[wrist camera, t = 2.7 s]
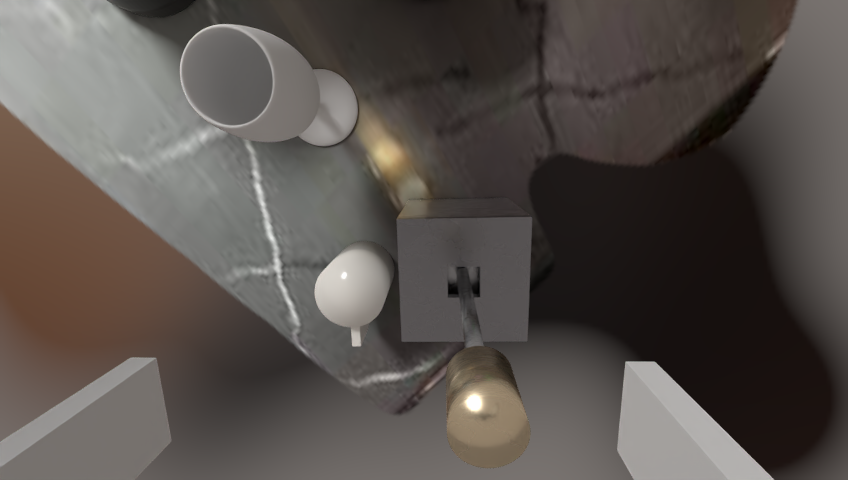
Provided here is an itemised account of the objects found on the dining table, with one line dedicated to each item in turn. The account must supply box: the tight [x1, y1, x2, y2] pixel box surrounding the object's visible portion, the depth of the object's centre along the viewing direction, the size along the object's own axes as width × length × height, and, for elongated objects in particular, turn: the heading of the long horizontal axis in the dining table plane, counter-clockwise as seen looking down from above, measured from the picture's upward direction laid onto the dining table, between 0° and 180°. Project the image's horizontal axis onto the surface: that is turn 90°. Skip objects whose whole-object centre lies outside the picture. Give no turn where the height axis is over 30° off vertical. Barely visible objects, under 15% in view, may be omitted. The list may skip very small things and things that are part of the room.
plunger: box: [446, 267, 530, 468], centre depth 28 cm, size 9×9×23 cm
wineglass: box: [180, 24, 358, 146], centre depth 36 cm, size 9×9×21 cm
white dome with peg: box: [315, 241, 395, 346], centre depth 47 cm, size 8×11×9 cm
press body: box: [396, 197, 532, 342], centre depth 43 cm, size 12×12×14 cm
